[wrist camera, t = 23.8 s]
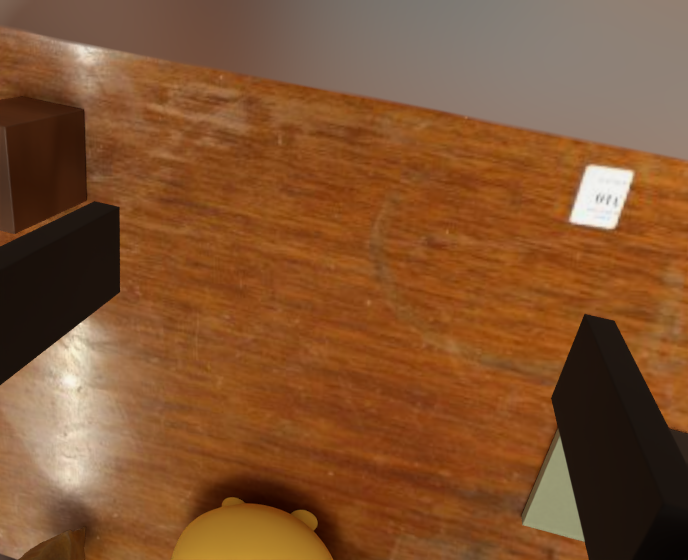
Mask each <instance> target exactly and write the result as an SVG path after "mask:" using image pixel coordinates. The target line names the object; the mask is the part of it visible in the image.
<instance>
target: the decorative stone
mask: <svg viewBox="0 0 688 560" xmlns="http://www.w3.org/2000/svg"><path fill="white" fill-rule="evenodd" d="M85 530H86V527H84V528H82V529H79V530H76V531H73V532H72V531H71V530H68V531H66V532H63V533H61V534H59V535H57V536H55V537H53V538H51V539H49V540H47V541H44V542H42V543H40V544H39V545H37V546H35V547H34V548H32V549H30V550H29V551H28V552H26V553H25V554H24V555H23V556H22V557H21V558H20V559H18V560H85V553H84V545H85Z"/></svg>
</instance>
